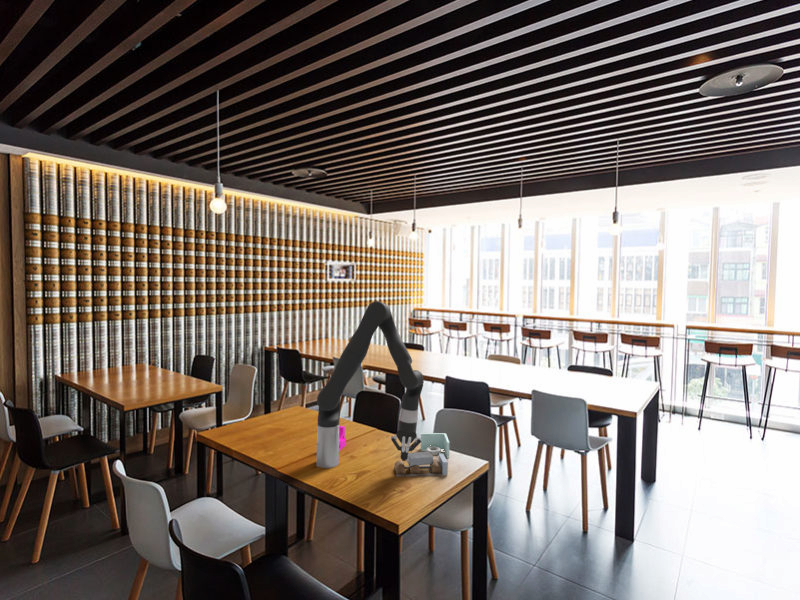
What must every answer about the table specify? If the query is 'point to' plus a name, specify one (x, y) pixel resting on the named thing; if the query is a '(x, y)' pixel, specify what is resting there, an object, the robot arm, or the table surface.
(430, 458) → the slab
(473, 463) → the table surface
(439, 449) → the l-shaped corner panel
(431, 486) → the table surface
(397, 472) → the roller bed
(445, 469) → the stop gate
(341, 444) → the magenta curved bracket
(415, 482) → the table surface
